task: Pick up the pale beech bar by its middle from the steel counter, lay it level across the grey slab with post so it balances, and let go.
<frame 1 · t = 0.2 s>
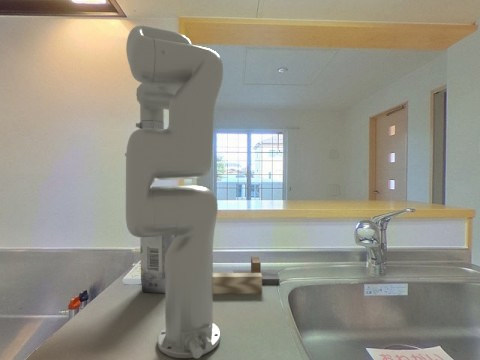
hand: (152, 178, 100), 31 cm above the countertop, tool pointing down, fingers open, 9 cm apart
beech bar: (226, 292, 85), on the countertop
juice carton: (159, 287, 88), on the countertop
grey slab with post: (255, 279, 94), on the countertop
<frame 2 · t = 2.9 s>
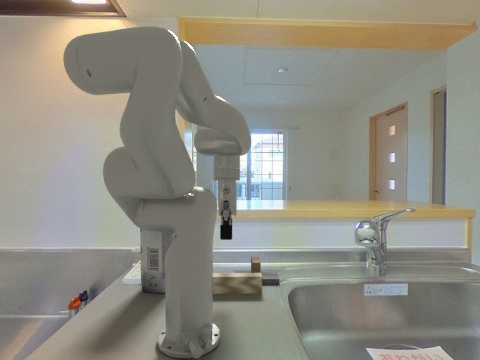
hand: (226, 235, 84), 16 cm above the countertop, tool pointing down, fingers open, 9 cm apart
nothing on the countertop moved.
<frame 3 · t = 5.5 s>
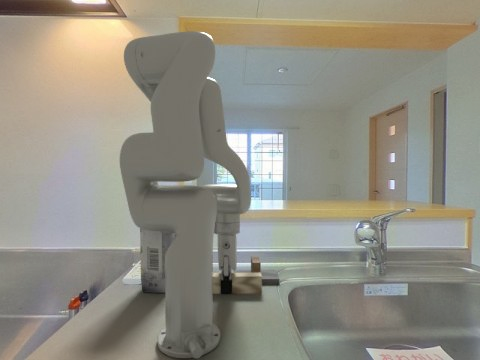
hand: (226, 290, 85), 0 cm above the countertop, tool pointing down, fingers closed on beech bar, 2 cm apart
beech bar: (226, 291, 85), on the countertop, touching gripper
everything else where it was.
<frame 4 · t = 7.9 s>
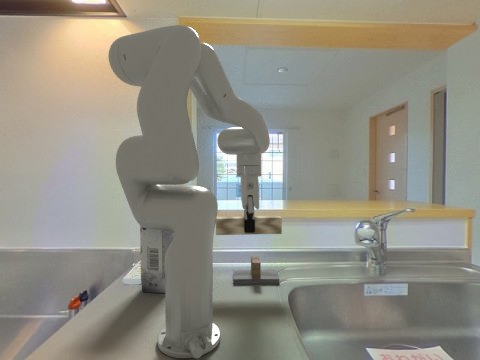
hand: (249, 230, 91), 16 cm above the countertop, tool pointing down, fingers closed on beech bar, 3 cm apart
beech bar: (248, 233, 91), point 15 cm above the countertop, touching gripper
everything else where it was.
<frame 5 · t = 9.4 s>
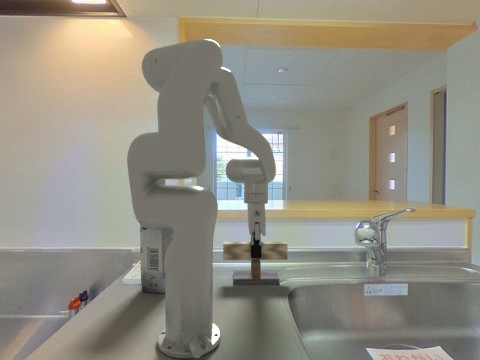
hand: (255, 255, 94), 8 cm above the countertop, tool pointing down, fingers closed on beech bar, 3 cm apart
beech bar: (255, 258, 94), point 7 cm above the countertop, touching gripper
everything else where it was.
when the fingers open (7 cm above the countertop, at t = 10.2 s): beech bar stays where it is, resting on grey slab with post.
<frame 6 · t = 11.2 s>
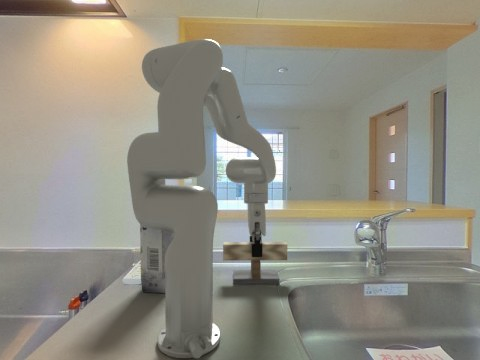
hand: (255, 252, 94), 9 cm above the countertop, tool pointing down, fingers open, 9 cm apart
beech bar: (254, 258, 94), point 6 cm above the countertop, touching grey slab with post
everything else where it was.
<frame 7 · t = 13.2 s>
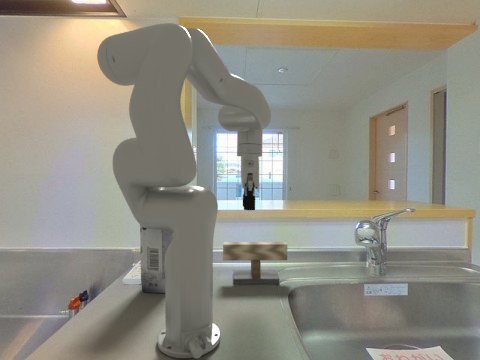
hand: (248, 208, 89), 23 cm above the countertop, tool pointing down, fingers open, 9 cm apart
nothing on the countertop moved.
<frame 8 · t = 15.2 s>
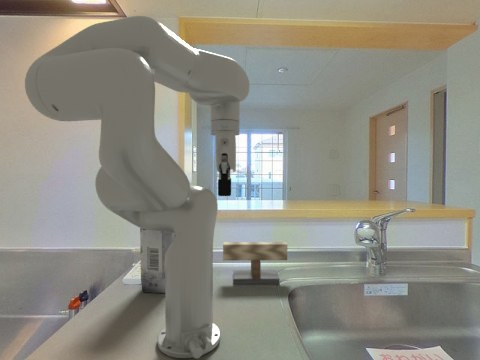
hand: (225, 194, 78), 28 cm above the countertop, tool pointing down, fingers open, 9 cm apart
nothing on the countertop moved.
at the end: beech bar 0.2 cm off-centre on the grey slab with post, point 6.5 cm above the grey slab with post's base; beech bar tilted 0°; the gripper is holding nothing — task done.
